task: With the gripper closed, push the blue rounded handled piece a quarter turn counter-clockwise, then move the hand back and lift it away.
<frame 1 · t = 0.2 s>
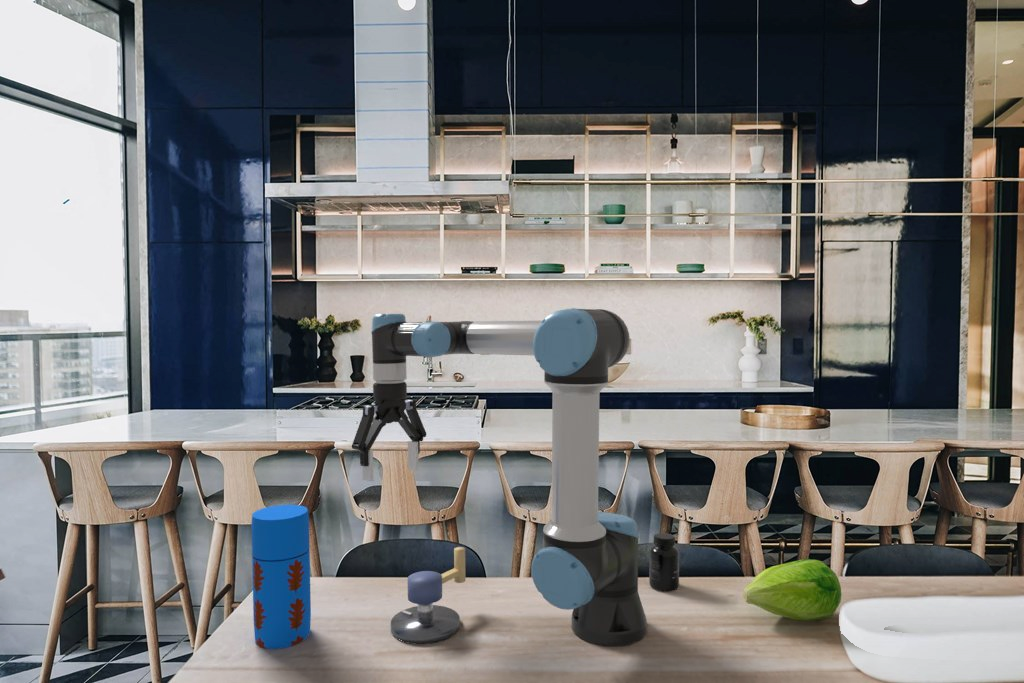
hand: (391, 474, 150), 28 cm above the table, tool pointing down, fingers open, 13 cm apart
lettuce: (789, 620, 137), on the table
post base: (425, 627, 135), on the table
blue rounded handled piece: (439, 574, 138), point 10 cm above the table, hinge at 0.0°
thermos: (282, 636, 132), on the table
supplement bottle: (664, 587, 154), on the table
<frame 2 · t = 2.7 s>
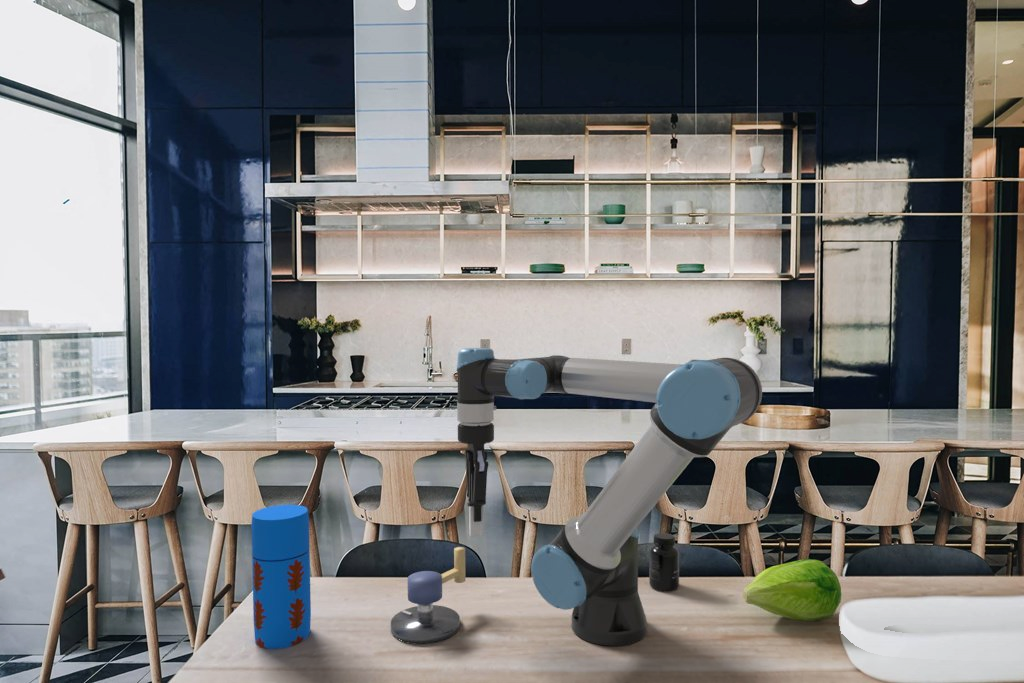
hand: (476, 535, 137), 18 cm above the table, tool pointing down, fingers closed
nothing on the table moved.
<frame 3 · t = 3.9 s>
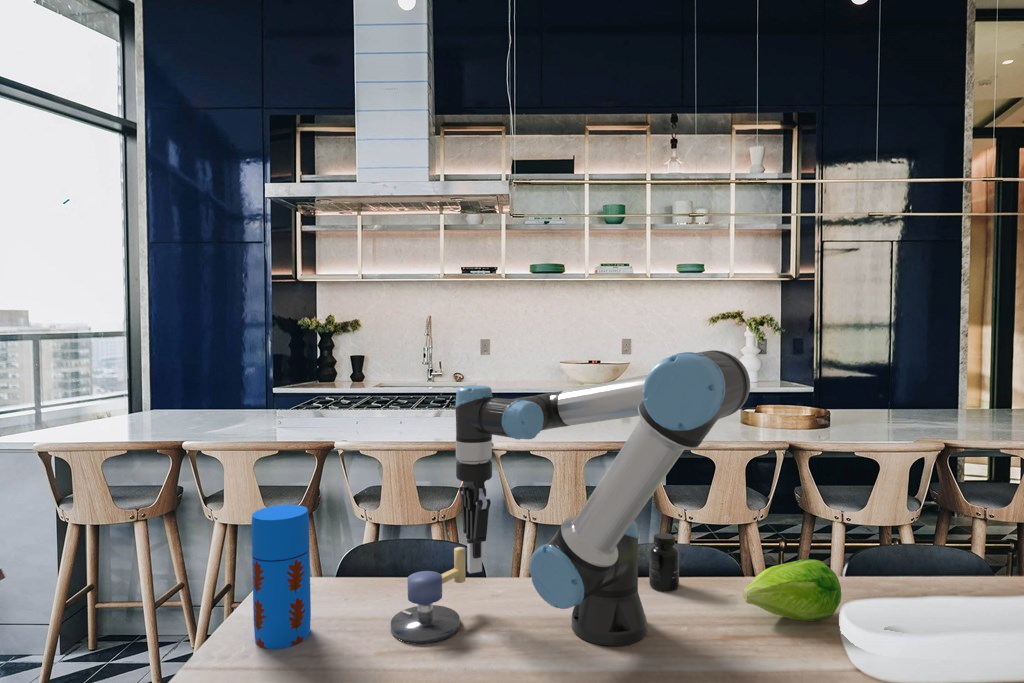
hand: (474, 571, 138), 10 cm above the table, tool pointing down, fingers closed
nothing on the table moved.
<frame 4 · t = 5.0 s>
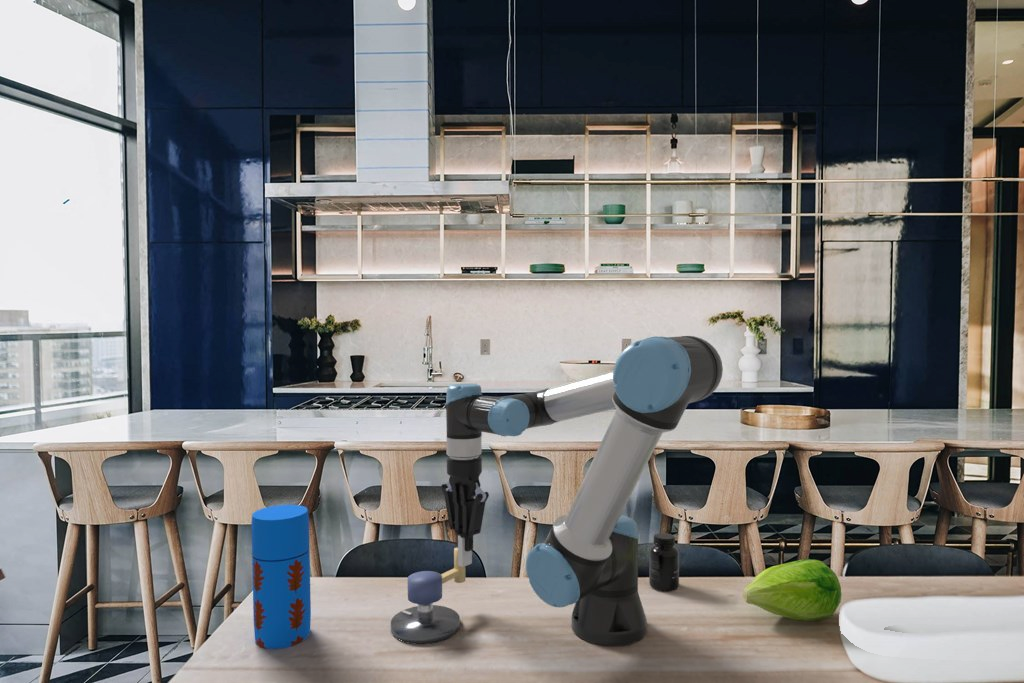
hand: (464, 564, 142), 10 cm above the table, tool pointing down, fingers closed
blue rounded handled piece: (439, 574, 138), point 10 cm above the table, hinge at 0.1°, touching gripper
everything else where it was.
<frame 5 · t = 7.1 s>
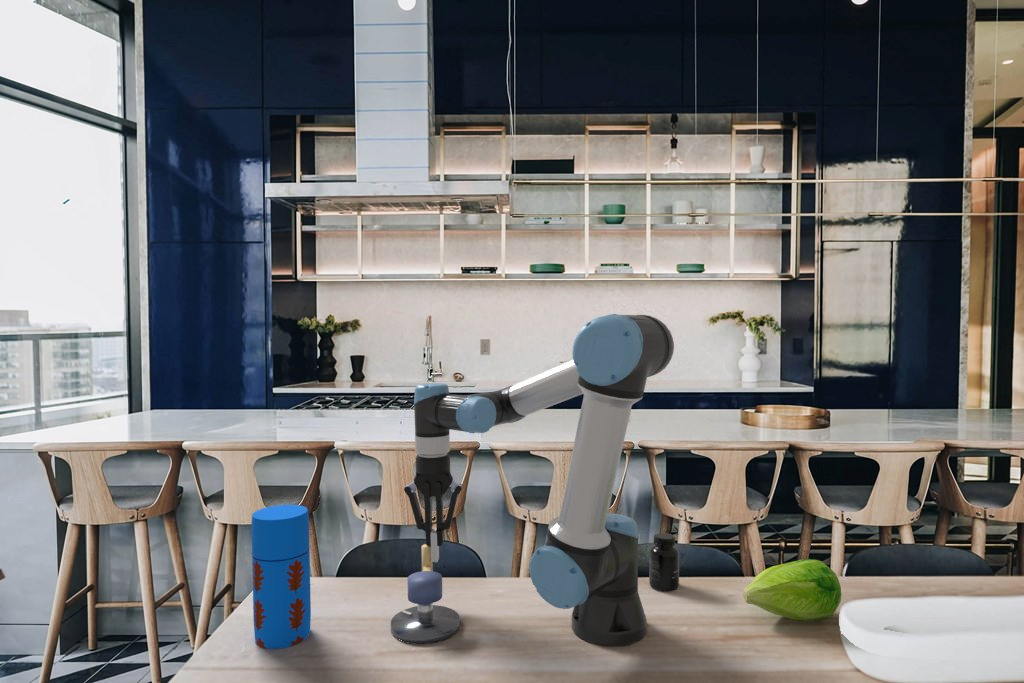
hand: (435, 559, 145), 10 cm above the table, tool pointing down, fingers closed
blue rounded handled piece: (425, 573, 139), point 10 cm above the table, hinge at 40.7°, touching gripper
everything else where it was.
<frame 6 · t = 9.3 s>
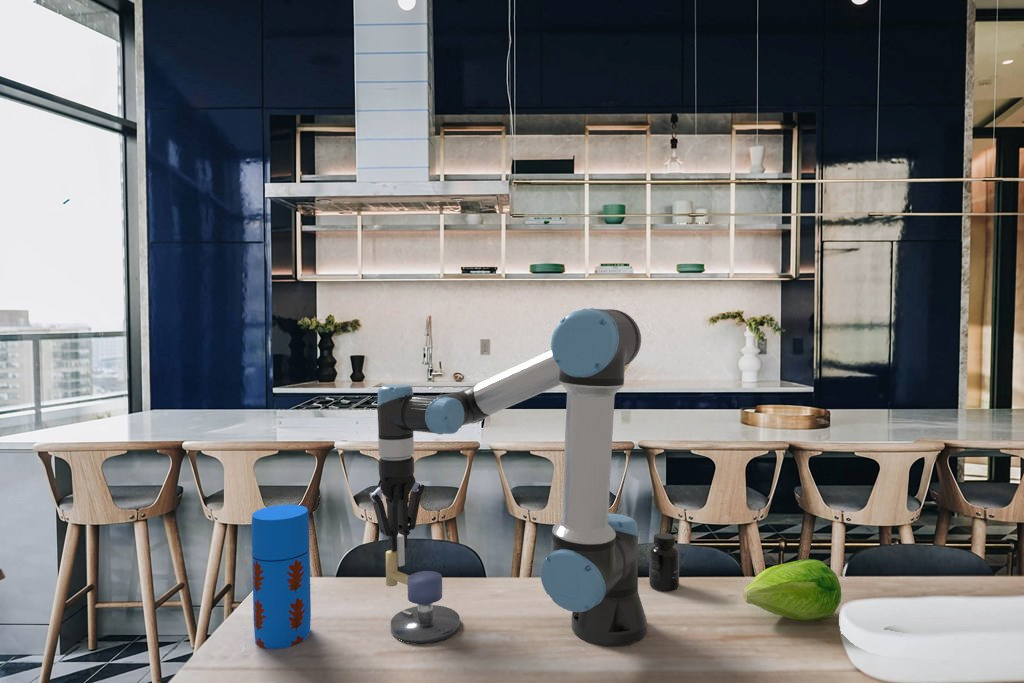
hand: (398, 564, 143), 10 cm above the table, tool pointing down, fingers closed
blue rounded handled piece: (411, 575, 137), point 10 cm above the table, hinge at 83.6°, touching gripper
everything else where it was.
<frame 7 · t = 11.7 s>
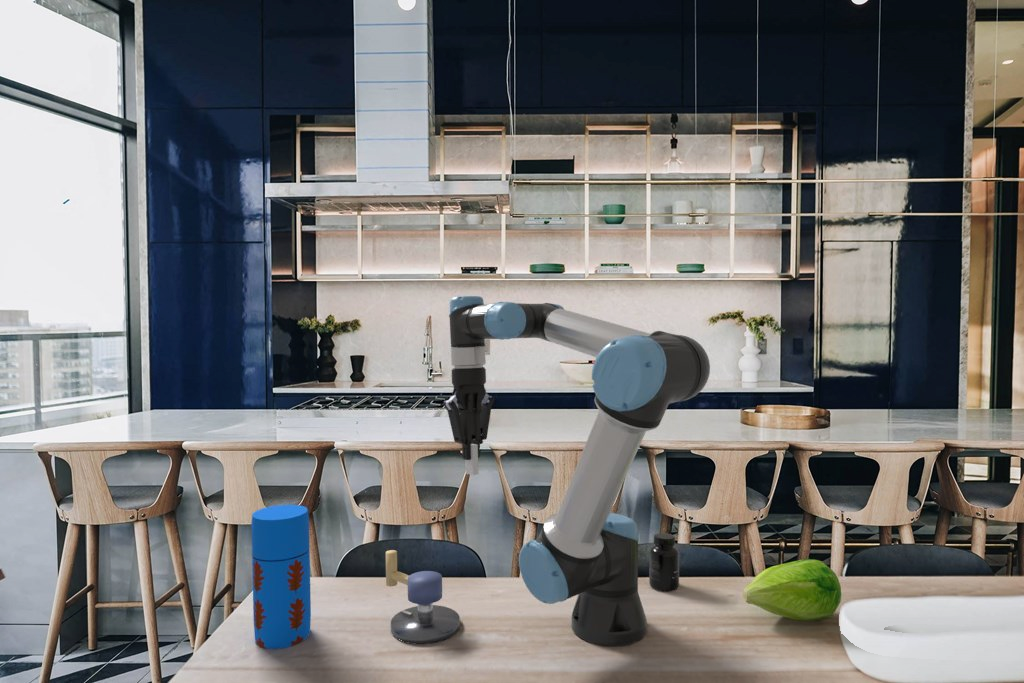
hand: (471, 473, 145), 29 cm above the table, tool pointing down, fingers closed
blue rounded handled piece: (411, 576, 137), point 10 cm above the table, hinge at 83.7°
everything else where it was.
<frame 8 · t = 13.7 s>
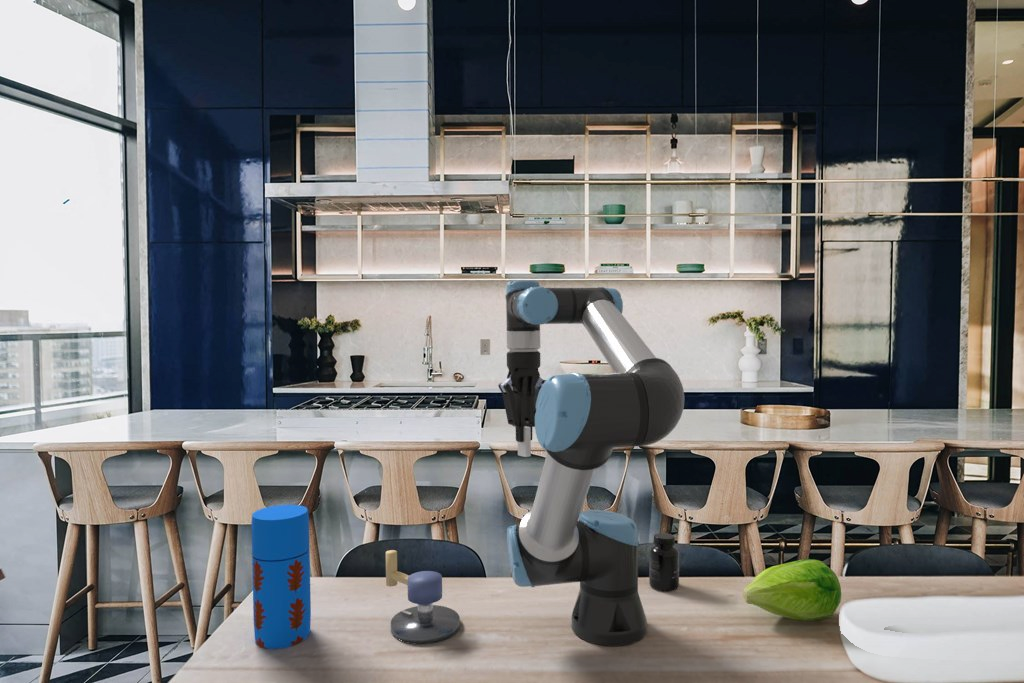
hand: (524, 455, 147), 32 cm above the table, tool pointing down, fingers closed
nothing on the table moved.
at the end: blue rounded handled piece at +84° (first picture: +0°); the gripper is holding nothing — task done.
